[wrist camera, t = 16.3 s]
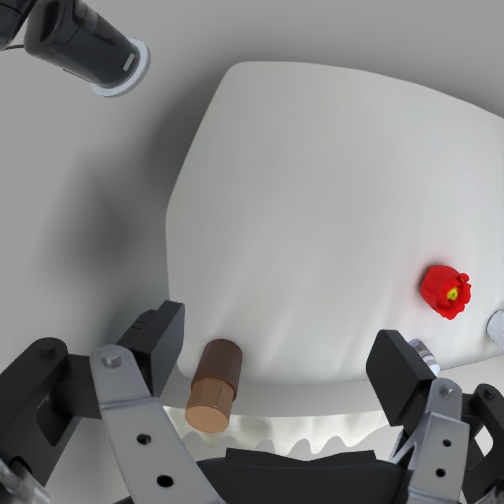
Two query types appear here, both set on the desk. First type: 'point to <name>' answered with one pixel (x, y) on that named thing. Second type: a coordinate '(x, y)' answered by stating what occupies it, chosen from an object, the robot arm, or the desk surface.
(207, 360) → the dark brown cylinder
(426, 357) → the pill bottle
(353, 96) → the desk surface
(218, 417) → the brown octagonal prism
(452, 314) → the flower
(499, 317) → the cup
